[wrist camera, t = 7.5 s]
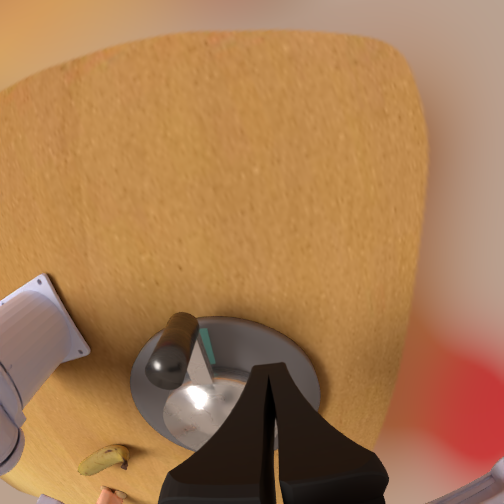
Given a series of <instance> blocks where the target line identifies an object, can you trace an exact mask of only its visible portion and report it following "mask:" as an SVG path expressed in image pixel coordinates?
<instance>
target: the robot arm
mask: <svg viewBox="0 0 504 504" xmlns="http://www.w3.org/2000/svg"><path fill="white" fill-rule="evenodd" d="M40 280H41V282H42V283H41V282H40ZM81 350H82V351H81ZM89 353H90V348H89V346H88V345H87V343H86V342H85V340H84V339H83V337H82V335H81V334H80V332H79V331H78V329H77V327H76V326H75V324H74V322H73V321H72V319H71V317H70V316H69V314H68V312H67V311H66V309H65V307H64V305H63V304H62V302H61V300H60V298H59V296H58V295H57V293H56V291H55V289H54V287H53V285H52V283H51V281H50V279H49V277H48V276H47V275H46V274H45V273H42V274H41V275H39V276H37V277H36V278H34V279H33V280H31V281H30V282H28V283H26V284H25V285H23V286H22V287H20V288H19V289H17V290H16V291H14V292H13V293H11V294H10V295H8V296H7V297H5V298H4V299H2V300H1V301H0V476H1V475H4V474H6V473H7V472H9V471H10V470H11V469H13V468H14V467H15V465H16V464H17V463H18V461H19V460H20V458H21V455H22V452H23V449H24V444H25V436H24V433H23V431H22V429H21V428H20V427H21V426H22V425H23V423H24V422H25V421H26V417H25V416H24V414H23V412H22V410H23V409H24V407H25V406H26V405H27V403H28V402H29V401H30V400H31V398H32V397H33V396H34V395H35V393H36V392H37V391H38V390H39V388H40V387H41V386H42V385H43V384H44V382H45V381H46V380H47V379H48V378H49V376H50V375H51V374H52V373H53V372H54V370H55V369H56V368H57V367H58V366H59V364H60V363H63V362H67V361H70V360H73V359H77V358H80V357H83V356H86V355H88V354H89ZM275 419H276V424H277V429H278V453H279V482H280V487H281V493H282V498H283V503H284V504H385V499H384V496H383V494H384V492H385V489H386V486H387V485H388V482H389V477H388V474H387V471H386V469H385V467H384V466H383V464H382V462H381V461H380V460H379V458H378V457H377V455H376V454H375V453H374V452H372V451H370V450H368V449H366V448H364V447H362V446H360V445H359V444H357V443H355V442H354V441H352V440H350V439H349V438H347V437H346V436H345V435H343V434H342V433H341V432H339V431H338V430H337V429H335V428H334V427H333V426H331V425H330V424H329V423H328V422H327V421H326V420H325V419H324V418H323V417H322V416H321V415H320V414H319V413H318V412H317V411H316V410H315V409H314V408H313V407H312V406H311V405H310V403H309V402H308V401H307V400H306V398H305V397H304V396H303V394H302V393H301V392H300V390H299V389H298V387H297V386H296V384H295V382H294V381H293V379H292V377H291V375H290V373H289V371H288V369H287V366H286V363H284V362H278V363H270V364H262V365H254V366H253V367H252V368H251V372H250V375H249V378H248V380H247V383H246V385H245V387H244V389H243V391H242V393H241V395H240V397H239V399H238V401H237V403H236V404H235V406H234V408H233V409H232V411H231V413H230V414H229V415H228V417H227V418H226V420H225V421H224V422H223V424H222V425H221V426H220V428H219V429H218V430H217V431H216V432H215V433H214V435H213V436H212V437H211V438H210V439H209V440H208V441H207V442H206V443H205V444H204V445H203V446H202V447H201V448H200V449H199V450H197V451H196V452H195V453H194V454H193V455H192V456H191V457H189V458H188V459H187V460H185V461H184V462H183V463H181V464H180V465H178V466H177V467H175V468H174V469H172V470H171V471H169V472H168V474H167V476H166V478H165V480H164V483H163V485H162V488H161V492H160V496H159V500H158V504H276V491H275V477H274V441H275ZM36 504H64V503H63V502H61V501H59V500H56V499H54V498H51V497H49V496H46V495H44V494H41V495H40V497H39V499H38V501H37V503H36ZM426 504H504V457H502V458H501V459H500V460H499V461H497V462H496V464H495V465H494V466H493V467H492V469H491V471H490V472H489V473H487V474H485V475H483V476H482V477H480V478H478V479H476V480H474V481H473V482H471V483H469V484H467V485H465V486H463V487H461V488H459V489H457V490H455V491H453V492H451V493H449V494H447V495H444V496H442V497H440V498H438V499H435V500H433V501H431V502H428V503H426Z"/></svg>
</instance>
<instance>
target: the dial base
mask: <svg viewBox="0 0 504 504" xmlns="http://www.w3.org/2000/svg"><path fill="white" fill-rule="evenodd" d="M196 319H197V321H198V323H199V326H200V330H199V332H200V335H201V338H202V341H203V344H204V347H205V349H206V352H207V355H208V358H209V361H210V364H211V367H225V368H232V369H237V370H240V371H244V372H247V373H249V374H250V372H251V368H252V367H253V366H254V365H262V364H270V363H278V362H284V363H286V366H287V369H288V371H289V373H290V375H291V377H292V379H293V381H294V382H295V384H296V386H297V387H298V389H299V390H300V392H301V393H302V394H303V396H304V397H305V398H306V400H307V401H308V402H309V403H310V405H311V406H312V407H313V408H314V409H315V410H316V411H317V412H318V409H319V405H320V386H319V382H318V379H317V375H316V372H315V369H314V367H313V365H312V363H311V361H310V359H309V358H308V356H307V355H306V354H305V353H304V351H303V350H302V349H301V348H300V347H299V346H298V345H297V344H296V343H295V342H293V341H292V340H291V339H289V338H288V337H286V336H285V335H283V334H282V333H280V332H278V331H276V330H274V329H272V328H270V327H267V326H265V325H262V324H260V323H256V322H253V321H249V320H245V319H240V318H234V317H222V316H211V317H199V318H196ZM164 329H165V328H164ZM164 329H163V330H161V331H159V332H158V333H156V334H155V335H154V336H153V337H152V338H151V339H149V340H148V342H147V343H146V344H145V345H144V347H143V348H142V350H141V351H140V353H139V355H138V357H137V359H136V360H135V362H134V364H133V367H132V371H131V376H130V388H131V393H132V397H133V400H134V402H135V405H136V407H137V408H138V410H139V412H140V413H141V415H142V416H143V417H144V419H145V420H146V421H147V422H148V423H149V424H150V425H151V426H152V427H153V428H154V429H155V430H156V431H157V432H158V433H160V434H161V435H162V436H164V437H165V438H167V439H168V440H170V441H172V442H174V443H175V444H177V445H179V446H182V447H184V448H186V449H189V450H192V451H195V452H196V450H194V449H192V448H190V447H188V446H186V445H184V444H183V443H181V442H180V441H178V440H177V439H176V438H175V437H174V436H173V435H172V434H171V433H170V431H169V430H168V428H167V427H166V425H165V422H164V419H163V410H164V407H165V404H166V401H167V398H168V395H169V392H170V390H165V389H161V388H158V387H156V386H155V385H153V384H152V383H151V382H150V381H149V380H148V378H147V377H146V374H145V367H146V364H147V362H148V361H149V359H150V357H151V355H152V353H153V351H154V349H155V347H156V345H157V343H158V341H159V339H160V337H161V335H162V333H163V331H164ZM186 373H188V371H186ZM277 449H278V433H277V435H276V437H275V441H274V450H277Z"/></svg>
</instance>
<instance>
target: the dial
mask: <svg viewBox="0 0 504 504" xmlns="http://www.w3.org/2000/svg"><path fill="white" fill-rule="evenodd" d="M199 330H200V326H199V323H198V321H197V319H196V318H195V317H194V316H192V315H191V314H189V313H185V312H179V313H176V314H174V315H173V316H172V317H171V318H170V320H169V322H168V324H167V326H166V327H165V329H164V331H163V333H162V335H161V337H160V339H159V341H158V343H157V345H156V347H155V349H154V351H153V353H152V355H151V357H150V359H149V361H148V362H147V364H146V367H145V374H146V377H147V378H148V380H149V381H150V382H151V383H152V384H153V385H155V386H156V387H158V388H161V389H165V390H170V392H169V395H168V398H167V401H166V404H165V407H164V410H163V419H164V422H165V425H166V427H167V428H168V430H169V431H170V433H171V434H172V435H173V436H174V437H175V438H176V439H177V440H178V441H180V442H181V443H183V444H184V445H186V446H188V447H190V448H192V449H194V450H196V451H197V450H199V449H200V448H201V447H202V446H203V445H204V444H205V443H206V442H207V441H208V440H209V439H210V438H211V437H212V436H213V435H214V433H215V432H216V431H217V430H218V429H219V428H220V426H221V425H222V424H223V422H224V421H225V420H226V418H227V417H228V415H229V414H230V413H231V411H232V409H233V408H234V406H235V404H236V403H237V401H238V399H239V397H240V395H241V393H242V391H243V389H244V387H245V385H246V383H247V380H248V378H249V375H250V374H249V373H247V372H244V371H240V370H237V369H232V368H225V367H211V364H210V361H209V358H208V355H207V352H206V349H205V347H204V344H203V341H202V338H201V335H200V332H199ZM186 371H188V373H186ZM277 433H278V429H277V424H276V419H275V437H276V435H277Z"/></svg>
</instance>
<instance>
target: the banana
mask: <svg viewBox="0 0 504 504" xmlns="http://www.w3.org/2000/svg"><path fill="white" fill-rule="evenodd" d="M129 457H130V454H129V451H128V449H127V448H126V447H124V446H121V445H110V446H106V447H104V448H102V449H100V450H98V451H96V452H94V453H93V454H91V455H90V456H88V457H87V458H86V459H84V460H83V461H82V462H81V463H80V464H79V466H78V472H79V473H80V474H81V475H85V476H90V475H94V474H96V473H98V472H100V471H102V470H104V469H106V468H108V467H110V466H112V465H114V464H116V463H119V462H122V461H123V462H124V463H123V464H122V466H121V468H123V469H125V470H127V466H128V463H127V460H128V459H129Z"/></svg>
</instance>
